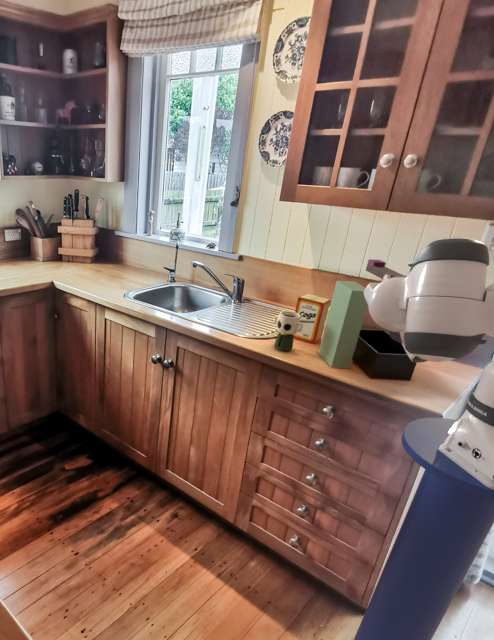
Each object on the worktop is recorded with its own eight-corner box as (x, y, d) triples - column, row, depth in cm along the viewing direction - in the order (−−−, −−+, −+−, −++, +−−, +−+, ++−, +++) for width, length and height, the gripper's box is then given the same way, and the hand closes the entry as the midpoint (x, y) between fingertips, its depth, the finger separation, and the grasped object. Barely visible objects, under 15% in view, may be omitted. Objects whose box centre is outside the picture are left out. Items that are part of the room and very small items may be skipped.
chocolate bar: (406, 285, 134) (410, 273, 133) (393, 285, 134) (397, 272, 133) (376, 271, 150) (379, 259, 149) (365, 270, 150) (368, 259, 149)
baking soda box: (320, 339, 176) (331, 298, 169) (314, 343, 171) (324, 302, 164) (296, 332, 181) (305, 292, 174) (289, 336, 177) (298, 296, 170)
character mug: (263, 346, 167) (270, 311, 162) (275, 341, 172) (282, 308, 166) (290, 356, 160) (298, 320, 154) (301, 351, 164) (310, 316, 158)
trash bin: (410, 380, 147) (419, 355, 143) (370, 378, 147) (378, 353, 143) (377, 352, 167) (384, 330, 163) (342, 350, 167) (348, 328, 163)
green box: (349, 368, 153) (371, 291, 142) (331, 367, 153) (352, 290, 142) (335, 353, 164) (355, 281, 152) (318, 352, 164) (336, 280, 152)
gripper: (453, 306, 126) (436, 270, 134) (378, 302, 126) (366, 266, 134) (439, 321, 132) (424, 286, 139) (367, 317, 132) (356, 282, 139)
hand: (394, 276), depth 137 cm, fingers closed on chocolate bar, 3 cm apart
